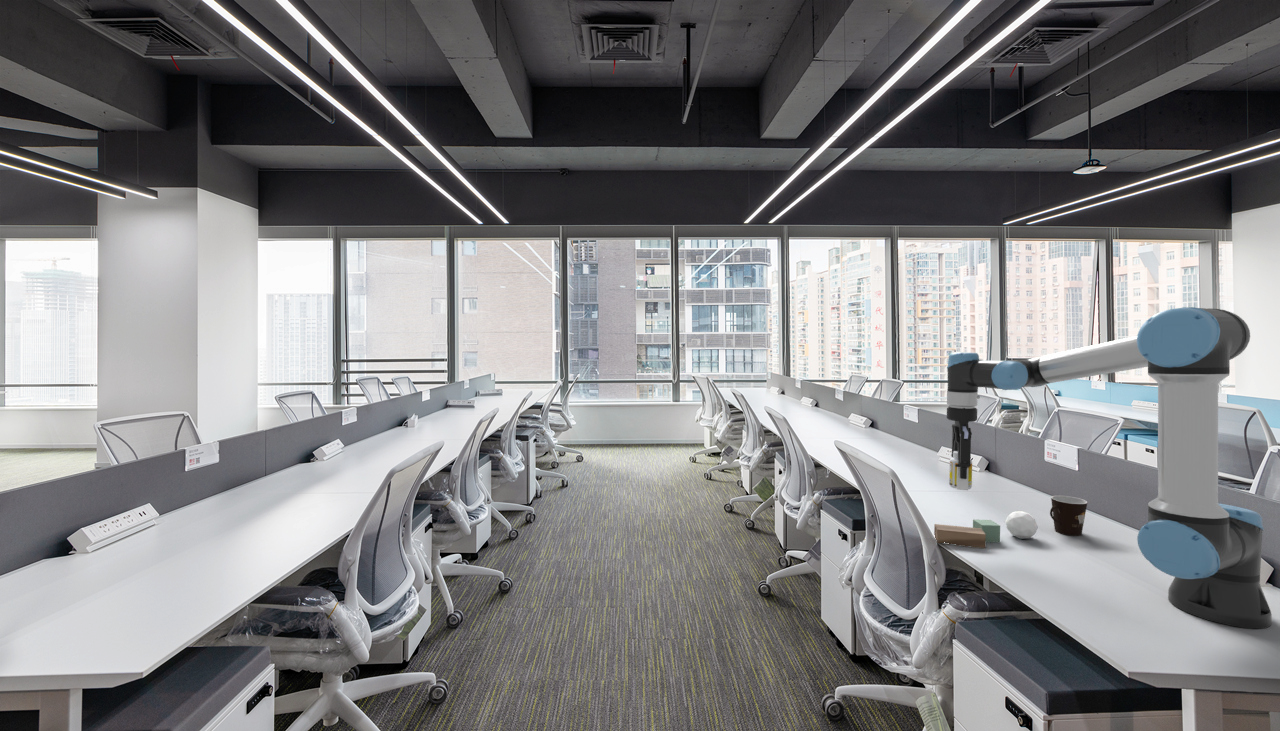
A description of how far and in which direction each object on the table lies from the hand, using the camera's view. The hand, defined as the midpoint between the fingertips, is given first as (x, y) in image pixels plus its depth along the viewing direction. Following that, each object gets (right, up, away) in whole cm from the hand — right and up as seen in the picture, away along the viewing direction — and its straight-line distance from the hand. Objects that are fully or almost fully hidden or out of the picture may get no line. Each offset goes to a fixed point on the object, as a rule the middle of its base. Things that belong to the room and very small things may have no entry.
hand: (959, 486), depth 155 cm
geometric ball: (+21, -16, +5) cm, 27 cm away
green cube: (+10, -16, +3) cm, 19 cm away
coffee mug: (+36, -16, +8) cm, 40 cm away
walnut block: (0, -16, +1) cm, 16 cm away
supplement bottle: (0, -1, 0) cm, 1 cm away
